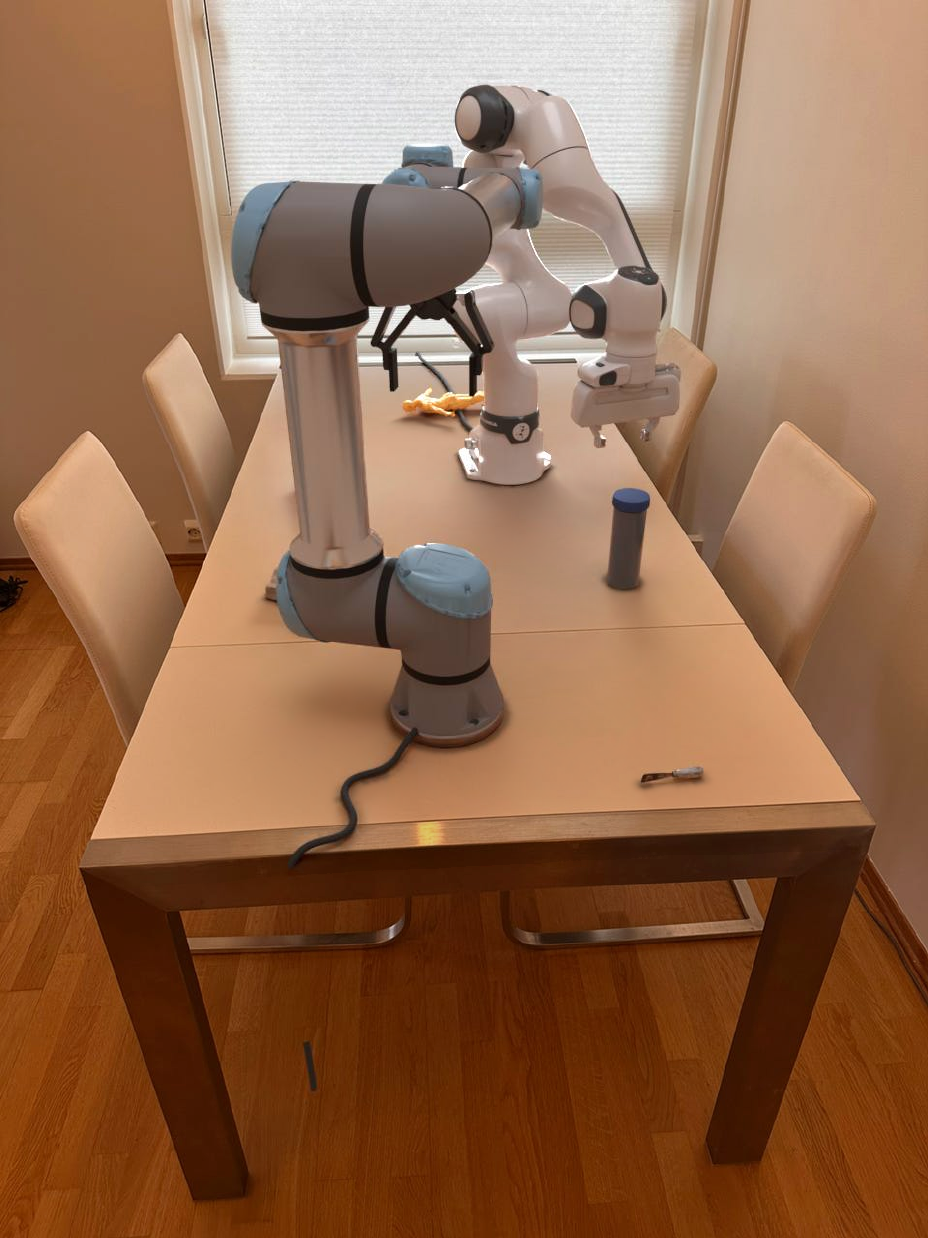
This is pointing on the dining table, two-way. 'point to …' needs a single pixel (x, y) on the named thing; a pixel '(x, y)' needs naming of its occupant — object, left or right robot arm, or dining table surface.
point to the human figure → (442, 402)
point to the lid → (631, 500)
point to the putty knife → (674, 774)
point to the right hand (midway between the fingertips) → (622, 443)
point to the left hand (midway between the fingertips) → (433, 391)
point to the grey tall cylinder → (626, 549)
